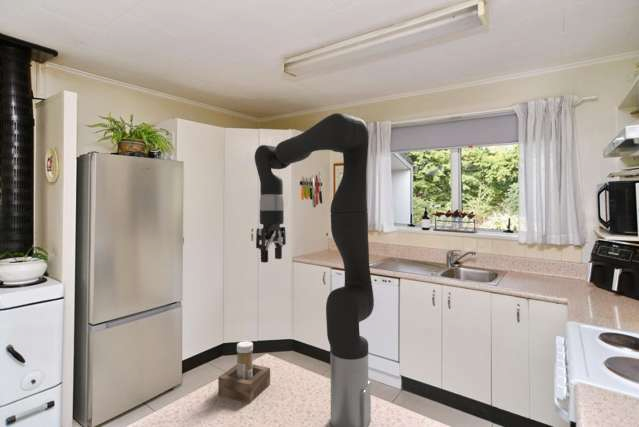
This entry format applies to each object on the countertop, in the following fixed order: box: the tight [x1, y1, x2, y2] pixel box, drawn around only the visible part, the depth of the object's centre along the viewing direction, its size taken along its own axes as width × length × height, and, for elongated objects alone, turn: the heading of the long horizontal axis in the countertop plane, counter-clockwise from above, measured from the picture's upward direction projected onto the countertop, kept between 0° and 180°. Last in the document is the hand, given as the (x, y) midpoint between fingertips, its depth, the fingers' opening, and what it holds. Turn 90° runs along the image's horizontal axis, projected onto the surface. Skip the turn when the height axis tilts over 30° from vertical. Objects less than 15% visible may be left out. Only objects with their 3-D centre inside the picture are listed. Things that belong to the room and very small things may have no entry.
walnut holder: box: [217, 363, 271, 404], centre depth 97 cm, size 10×10×5 cm
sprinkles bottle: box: [236, 340, 254, 380], centre depth 97 cm, size 5×5×14 cm
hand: (271, 260), depth 106 cm, fingers open, 8 cm apart
